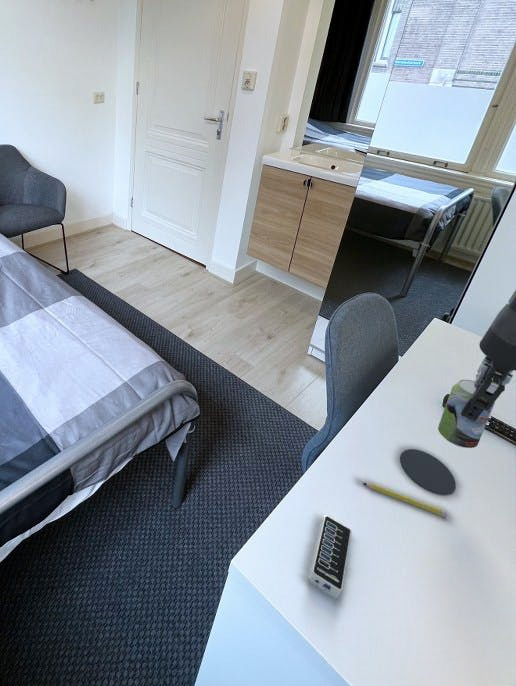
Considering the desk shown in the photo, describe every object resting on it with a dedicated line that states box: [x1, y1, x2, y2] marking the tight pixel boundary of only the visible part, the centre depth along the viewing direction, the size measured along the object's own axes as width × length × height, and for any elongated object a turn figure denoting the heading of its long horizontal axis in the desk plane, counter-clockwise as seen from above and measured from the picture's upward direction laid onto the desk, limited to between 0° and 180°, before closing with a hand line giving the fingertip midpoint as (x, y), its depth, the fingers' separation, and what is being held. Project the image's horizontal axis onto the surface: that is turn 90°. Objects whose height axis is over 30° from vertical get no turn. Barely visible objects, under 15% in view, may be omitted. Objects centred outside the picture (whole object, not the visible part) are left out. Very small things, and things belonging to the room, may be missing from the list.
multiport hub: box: [307, 514, 352, 599], centre depth 69 cm, size 4×11×2 cm, turn 147°
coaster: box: [399, 448, 457, 495], centre depth 85 cm, size 10×10×1 cm
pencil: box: [362, 482, 448, 518], centre depth 79 cm, size 1×14×1 cm, turn 68°
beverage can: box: [437, 379, 496, 449], centre depth 77 cm, size 6×7×12 cm
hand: (470, 406), depth 76 cm, fingers closed on beverage can, 6 cm apart
